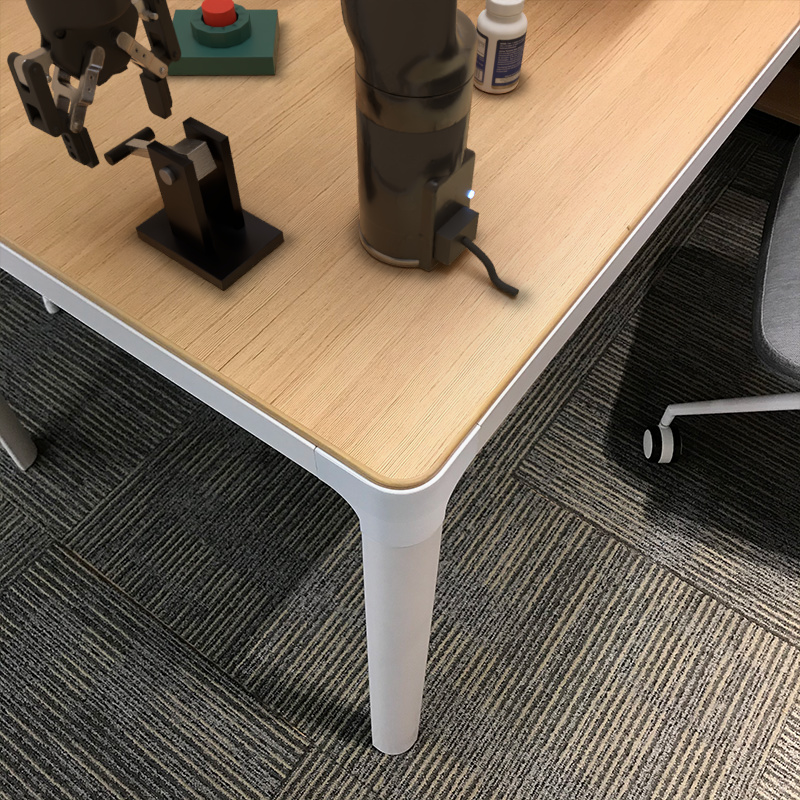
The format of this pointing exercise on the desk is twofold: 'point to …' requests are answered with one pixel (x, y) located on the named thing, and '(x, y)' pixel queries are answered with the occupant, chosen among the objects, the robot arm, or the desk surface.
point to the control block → (227, 43)
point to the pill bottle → (500, 45)
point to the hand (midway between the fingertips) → (126, 138)
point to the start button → (218, 12)
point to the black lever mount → (205, 213)
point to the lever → (185, 147)
